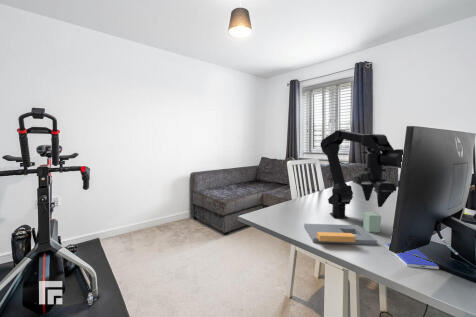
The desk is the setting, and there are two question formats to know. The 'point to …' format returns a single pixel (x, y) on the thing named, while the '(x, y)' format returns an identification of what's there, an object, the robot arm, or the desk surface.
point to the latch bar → (335, 237)
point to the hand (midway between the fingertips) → (373, 203)
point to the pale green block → (372, 222)
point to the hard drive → (415, 259)
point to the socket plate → (360, 238)
